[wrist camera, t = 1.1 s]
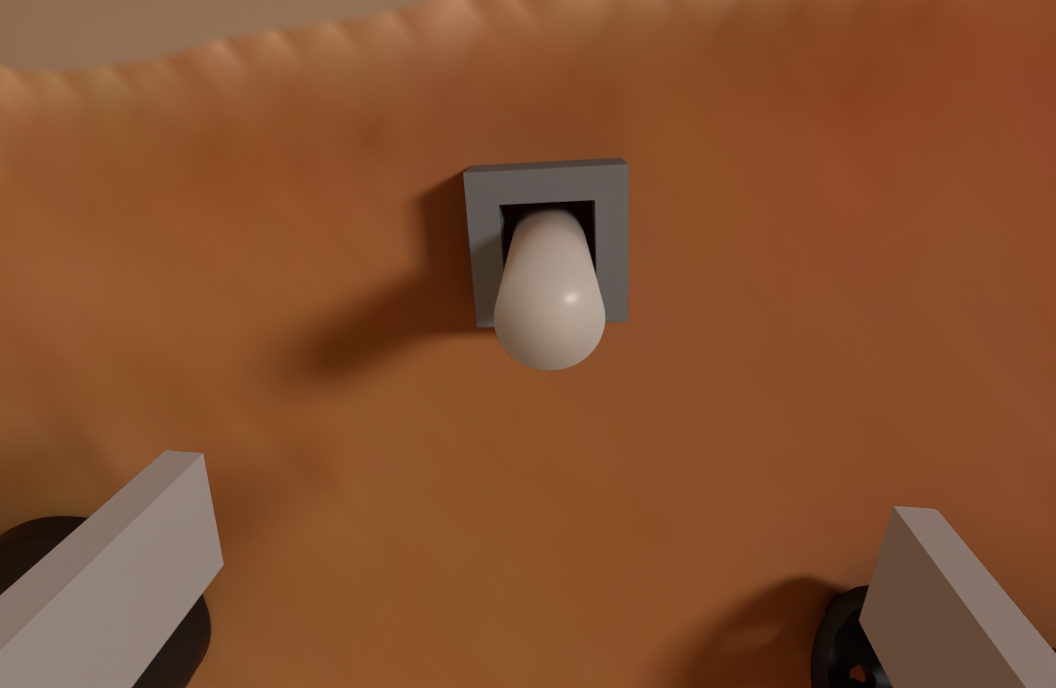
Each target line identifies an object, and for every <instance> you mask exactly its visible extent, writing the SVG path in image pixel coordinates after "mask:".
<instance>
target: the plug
mask: <svg viewBox="0 0 1056 688" xmlns="http://www.w3.org/2000/svg"><path fill="white" fill-rule="evenodd" d="M604 326H605V309H604V305H603V301H602V297H601V293H600V290H599V286H598V282H597V278H596V275H595V271H594V267H593V263H592V260H591V256H590V252H589V248H588V245H587V241H586V237H585V233H584V230H583V226H582V223H581V221H580V219H579V217H578V216H577V214H576V213H575V212H574V211H573V210H572V209H570V208H569V207H568V206H566V205H564V204H562V203H558V202H545V203H536V204H534V205H532V206H530V207H529V208H527V209H526V210H525V211H524V212H523V213H522V214H521V216H520V217H519V219H518V220H517V223H516V225H515V229H514V233H513V236H512V240H511V244H510V248H509V252H508V256H507V260H506V264H505V268H504V272H503V276H502V280H501V284H500V288H499V292H498V296H497V300H496V304H495V309H494V327H495V331H496V335H497V337H498V339H499V341H500V343H501V345H502V346H503V348H504V349H505V350H506V351H507V353H508V354H509V355H511V356H512V357H513V358H514V359H515V360H517V361H518V362H520V363H522V364H524V365H526V366H528V367H531V368H534V369H539V370H560V369H564V368H568V367H570V366H573V365H575V364H577V363H579V362H580V361H582V360H583V359H585V358H586V357H587V356H588V355H589V354H590V353H591V352H592V351H593V350H594V349H595V347H596V346H597V344H598V343H599V341H600V339H601V337H602V334H603V331H604Z"/></svg>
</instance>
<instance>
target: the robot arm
mask: <svg viewBox="0 0 1056 688" xmlns="http://www.w3.org/2000/svg"><path fill="white" fill-rule="evenodd" d="M223 565H224V564H223V558H222V553H221V548H220V542H219V537H218V531H217V526H216V521H215V515H214V510H213V504H212V499H211V493H210V488H209V483H208V477H207V472H206V466H205V461H204V456H203V453H192V452H179V451H164V452H163V453H162V454H161V455H160V456H159V457H158V458H156V459H155V460H154V461H153V462H152V463H151V464H150V465H148V466H147V467H146V468H145V469H144V470H143V471H142V472H140V473H139V474H138V475H137V476H136V477H135V478H134V479H132V480H131V481H130V482H129V483H128V484H127V485H126V486H125V487H123V488H122V489H121V490H120V491H119V492H118V493H117V494H115V495H114V496H113V497H112V498H111V499H110V500H109V501H107V502H106V503H105V504H104V505H103V506H102V507H101V508H99V509H98V510H97V511H96V512H95V513H94V514H93V515H91V516H90V517H89V518H81V517H49V518H42V519H37V520H33V521H30V522H27V523H24V524H21V525H19V526H17V527H15V528H13V529H11V530H10V531H8V532H7V533H5V534H4V535H3V536H1V537H0V688H185V687H186V686H187V684H188V683H189V681H190V680H191V678H192V676H193V675H194V673H195V671H196V670H197V668H198V667H199V665H200V663H201V662H202V660H203V658H204V656H205V654H206V652H207V649H208V646H209V642H210V636H211V624H210V617H209V612H208V609H207V606H206V603H205V600H204V598H203V596H202V593H203V592H204V590H205V589H206V588H207V586H208V585H209V584H210V582H211V581H212V580H213V578H214V577H215V576H216V574H217V573H218V572H219V570H220V569H221V568H222V566H223ZM859 622H860V624H861V626H862V628H863V630H864V632H865V634H866V636H867V638H868V639H869V641H870V643H871V645H872V647H873V649H874V651H875V653H876V655H877V657H878V659H879V661H880V663H881V665H882V667H883V669H884V671H885V673H886V675H887V677H888V679H889V681H890V683H891V685H892V687H893V688H1056V653H1055V652H1054V651H1053V650H1052V648H1051V647H1050V646H1049V645H1048V643H1047V642H1046V641H1045V640H1044V639H1043V637H1042V636H1041V635H1040V634H1039V633H1038V631H1037V630H1036V629H1035V628H1034V627H1033V625H1032V624H1031V623H1030V622H1029V620H1028V619H1027V618H1026V617H1025V616H1024V614H1023V613H1022V612H1021V611H1020V610H1019V608H1018V607H1017V606H1016V605H1015V603H1014V602H1013V601H1012V600H1011V599H1010V597H1009V596H1008V595H1007V594H1006V593H1005V591H1004V590H1003V589H1002V588H1001V587H1000V585H999V584H998V583H997V582H996V580H995V579H994V578H993V577H992V576H991V574H990V573H989V572H988V571H987V570H986V568H985V567H984V566H983V565H982V564H981V562H980V561H979V560H978V559H977V557H976V556H975V555H974V554H973V553H972V551H971V550H970V549H969V548H968V547H967V545H966V544H965V543H964V542H963V541H962V539H961V538H960V537H959V536H958V534H957V533H956V532H955V531H954V530H953V528H952V527H951V526H950V525H949V524H948V522H947V521H946V520H945V519H944V517H943V516H942V515H941V514H940V513H939V511H938V510H937V509H926V508H913V507H900V506H893V509H892V512H891V516H890V519H889V522H888V526H887V529H886V532H885V535H884V539H883V542H882V545H881V549H880V552H879V555H878V559H877V562H876V565H875V568H874V572H873V575H872V578H871V582H870V585H869V588H868V591H867V595H866V598H865V601H864V605H863V608H862V611H861V615H860V618H859Z"/></svg>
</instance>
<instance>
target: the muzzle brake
mask: <svg viewBox="0 0 1056 688" xmlns="http://www.w3.org/2000/svg"><path fill="white" fill-rule="evenodd" d="M868 588H869V585H866V586H859V587H855V588H853V589H851V590H849V591H847V592H845V593H844V594H843V595H842V596H840V595H838V594H836V595H835V596H834V598H833V599H832V600H831V602H830V603H829V605H828V606H827V607H826V613H825V616H824V618H823V619H822V621H821V623H820V625H819V628H818V630H817V633H816V636H815V640H814V644H813V648H812V655H811V674H810V676H811V686H812V688H893V687H892V685H891V683H890V681H889V679H888V677H887V675H886V673H885V671H884V669H883V667H882V665H881V663H880V661H879V659H878V657H877V655H876V653H875V651H874V649H873V647H872V645H871V643H870V641H869V639H868V638H867V636H866V634H865V632H864V630H863V628H862V626H861V624H860V622H859V618H860V615H861V611H862V608H863V605H864V601H865V598H866V595H867V591H868ZM1051 648H1052V647H1051ZM1052 650H1053V651H1054V652H1055V653H1056V649H1055V648H1052ZM858 664H860V665H861V667H862V669H863V670H864V673H865V676H866V680H865V682H864V683H863V682H861V681H859V680H857V679H855V678H852V679H850V676H849V672H850V669H851V668H853V667H855V666H856V665H858Z"/></svg>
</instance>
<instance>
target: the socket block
mask: <svg viewBox="0 0 1056 688" xmlns="http://www.w3.org/2000/svg"><path fill="white" fill-rule="evenodd" d="M463 177H464V189H465V200H466V211H467V223H468V234H469V245H470V256H471V268H472V279H473V290H474V302H475V313H476V324H477V328H480V327H494V309H495V304H496V300H497V296H498V292H499V288H500V284H501V280H502V276H503V272H504V268H505V264H506V260H507V248H506V233H505V219H504V205H506V204H526V203H545V202H565V201H584V200H591V218H592V263H593V267H594V271H595V275H596V278H597V282H598V286H599V290H600V293H601V297H602V301H603V305H604V309H605V322H622V321H628V163H627V162H625V161H624V160H623V159H622V158H612V159H593V160H575V161H556V162H538V163H519V164H501V165H482V166H470V167H469V168H468V169H467V170H466V171H465V172H464V173H463Z"/></svg>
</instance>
